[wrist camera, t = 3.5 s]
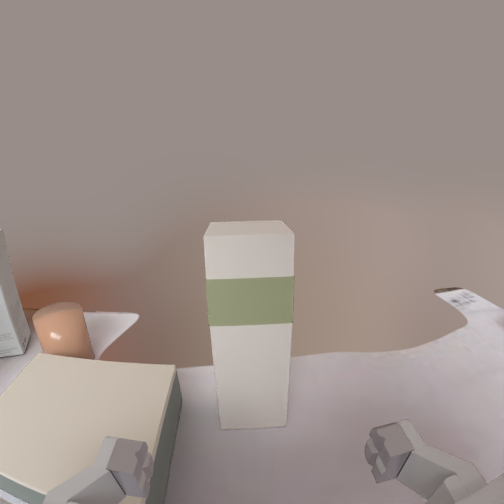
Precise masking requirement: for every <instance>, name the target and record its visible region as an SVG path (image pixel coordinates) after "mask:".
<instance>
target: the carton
mask: <svg viewBox="0 0 504 504" xmlns="http://www.w3.org/2000/svg"><path fill="white" fill-rule="evenodd" d="M204 250H205V251H204V252H205V268H206V279H205V282H206V296H207V307H208V319H209V326H210V332H211V343H212V353H213V362H214V372H215V381H216V390H217V399H218V407H219V415H220V423H221V430H227V429H256V428H271V427H283V426H286V420H287V406H288V391H289V375H290V357H291V335H292V323H293V309H294V233H293V232H292V231H291V230H290V229H289V228H288V227H287V226H286V225H285V224H284V223H283V222H282V221H281V220H280V221H279V220H277V221H240V222H211V223H210V225H209V227H208V229H207V231H206V233H205V235H204Z"/></svg>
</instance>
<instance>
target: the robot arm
mask: <svg viewBox="0 0 504 504" xmlns="http://www.w3.org/2000/svg"><path fill="white" fill-rule="evenodd" d="M369 435H370V437H371V438H370V439H369V440H368V441H367V442H366V445H365V457H366V460H367V462H368V463H369V464H371V465H372V466H373V468H372V471H371V472H372V474H373V476H374V478H375V481H376V483H380V482H383V481H387V480H391V479H394V478H396V479H397V480H399V481H400V482H401V483H403V484H404V485H406V486H407V487H409V488H410V489H412V490H413V491H415V492H416V493H418V494H419V495H421V496H422V497H424V498H425V499H427V500H428V501H427V502H426V503H425V504H504V474H502V475H501V476H499V477H498V478H496V479H495V480H493V481H492V482H490V483H489V484H487V483H486V482H485V480H484V479H483V477H482V476H481V474H480V473H479V471H478V470H477V468H476V467H475V465H474V464H472V463H470V462H467V461H465V460H463V459H460V458H458V457H456V456H453V455H451V454H449V453H446V452H444V451H442V450H440V449H438V448H435V447H433V446H431V445H428V446H426V444H425V443H424V441H423V440H422V438H421V436H420V435H419V433H418V432H417V430H416V429H415V427H414V426H413V424H412V423H411V421H410V420H408V419H406V420H403V421H399V422H396V423H395V422H394V423H391V424H387V425H383V426H379V427H376V428H373V429H372V430H371V431H370V434H369ZM147 451H148V445H147V443H146V442H143V441H136V440H130V439H124V438H118V437H112V436H106V437H105V438H104V440H103V442H102V445H101V447H100V450H99V452H98V455H97V457H96V460H95V462H94V465H93V466H88V467H87V468H85V469H84V470H82V471H81V472H79V473H78V474H76V475H74V476H73V477H71V478H70V479H68V480H66V481H65V482H63V483H62V484H60V485H58V486H57V487H55V488H53V489H52V490H50V491H48V492H47V494H46V497H45V499H44V501H43V503H42V504H119V503H120V502H121V501H122V500H123V499H124V498H125V497H126V495H128V496H134V497H141V498H148V494H149V490H150V483H149V481H148V479H149V478H151V477H152V475H153V470H154V462H153V458H152V455H151V454H150V453H149V452H147ZM0 504H11V503H10V502H8V501H6V500H4V499H2V498H0Z"/></svg>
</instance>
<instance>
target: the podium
mask: <svg viewBox="0 0 504 504" xmlns="http://www.w3.org/2000/svg"><path fill="white" fill-rule="evenodd" d="M181 405H182V396H181V391H180V386H179V381H178V376H177V371H176V365H163V364H141V363H125V362H111V361H101V360H91V359H82V358H74V357H66V356H59V355H52V354H45V353H38V354H37V355H36V356H35V357H34V358H33V359H32V360H31V361H30V363H29V364H28V365H27V366H26V367H25V368H24V369H23V370H22V371H21V373H20V374H19V375H18V376H17V377H16V378H15V379H14V380H13V382H12V383H11V384H10V385H9V386H8V387H7V388H6V390H5V391H4V392H3V393H2V394H1V396H0V489H2V490H4V491H5V492H7V493H9V494H11V495H13V496H15V497H17V498H19V499H21V500H23V501H25V502H27V503H29V504H42V503H43V501H44V499H45V497H46V494H47V492H48V491H50V490H52V489H53V488H55V487H57V486H58V485H60V484H62V483H63V482H65V481H66V480H68V479H70V478H71V477H73V476H74V475H76V474H78V473H79V472H81V471H82V470H84V469H85V468H87V467H88V466H93V465H94V462H95V460H96V457H97V455H98V452H99V450H100V447H101V445H102V442H103V440H104V438H105V437H106V436H112V437H118V438H124V439H130V440H136V441H143V442H146V443H147V445H148V451H147V452H149V453H150V454H151V455H152V458H153V462H154V470H153V475H152V477H151V478H149V479H148V481H149V483H150V490H149V494H148V498H141V497H134V496H128V495H126V497H125V498H124V499H123V500H122V501H121V502H120V503H119V504H164V500H165V494H166V488H167V482H168V476H169V470H170V464H171V458H172V453H173V447H174V442H175V436H176V431H177V426H178V421H179V415H180V410H181Z"/></svg>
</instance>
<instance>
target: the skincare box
mask: <svg viewBox="0 0 504 504" xmlns="http://www.w3.org/2000/svg"><path fill="white" fill-rule="evenodd" d="M30 336H31V335H30V329H29V326H28V323H27V320H26V317H25V314H24V311H23V308H22V305H21V302H20V299H19V295H18V292H17V289H16V285H15V281H14V277H13V273H12V269H11V265H10V260H9V256H8V252H7V246H6V242H5V236H4V230H3V229H0V357H6V356H14V355H21V354H24V353H25V350H26V346H27V344H28V342H29V339H30Z"/></svg>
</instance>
